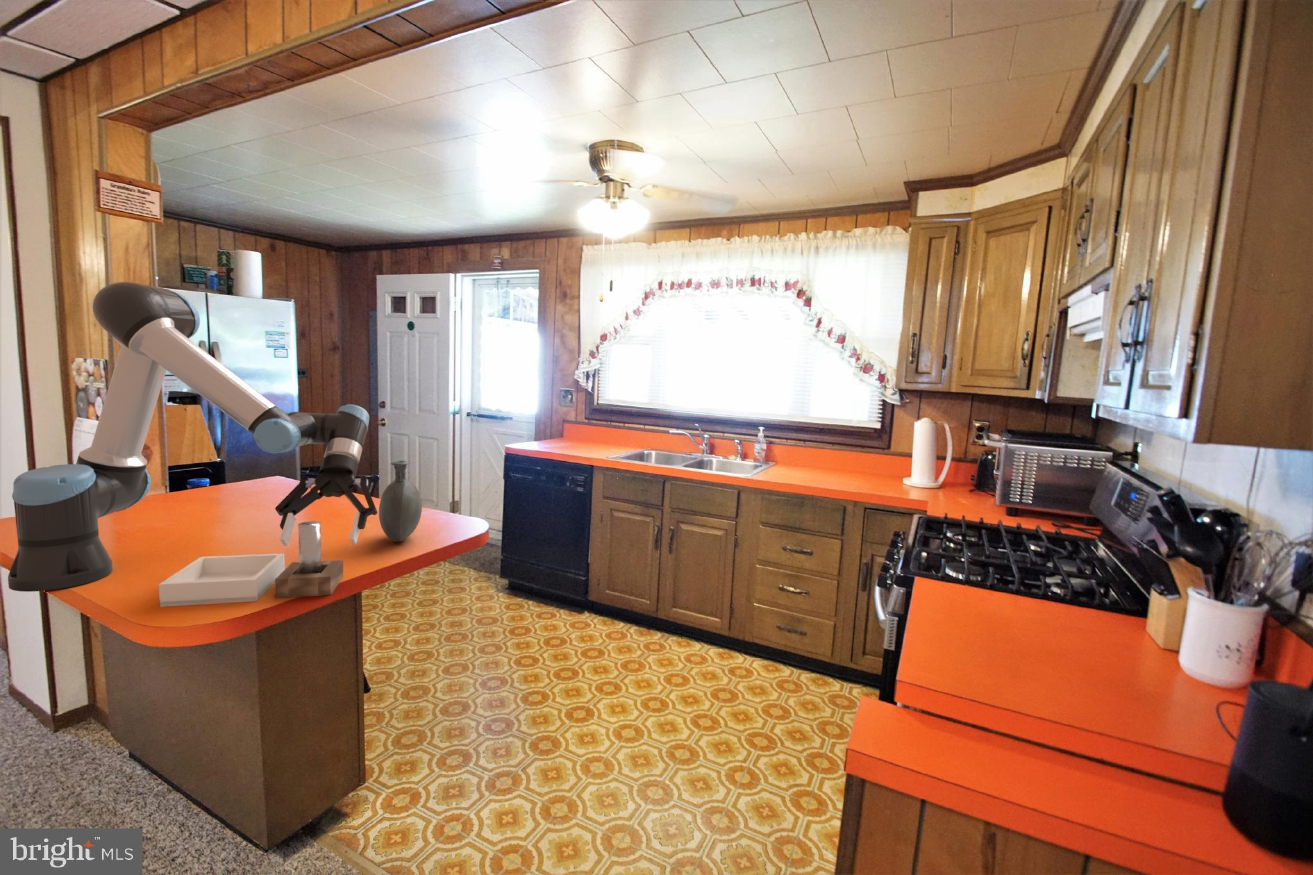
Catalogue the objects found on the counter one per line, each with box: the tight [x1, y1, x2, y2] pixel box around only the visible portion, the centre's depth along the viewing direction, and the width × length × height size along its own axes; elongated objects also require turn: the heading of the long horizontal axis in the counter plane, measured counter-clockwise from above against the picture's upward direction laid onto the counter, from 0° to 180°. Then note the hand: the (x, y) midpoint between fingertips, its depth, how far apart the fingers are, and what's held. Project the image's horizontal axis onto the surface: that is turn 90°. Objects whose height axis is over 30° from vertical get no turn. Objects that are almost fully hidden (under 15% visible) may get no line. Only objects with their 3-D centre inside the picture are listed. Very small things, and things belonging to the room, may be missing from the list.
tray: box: [158, 553, 286, 608], centre depth 117 cm, size 16×16×4 cm
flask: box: [378, 460, 423, 543], centre depth 153 cm, size 12×17×22 cm
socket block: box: [274, 560, 344, 599], centre depth 120 cm, size 10×10×4 cm
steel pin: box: [297, 520, 322, 574], centre depth 119 cm, size 4×4×14 cm
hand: (318, 542), depth 121 cm, fingers open, 13 cm apart
